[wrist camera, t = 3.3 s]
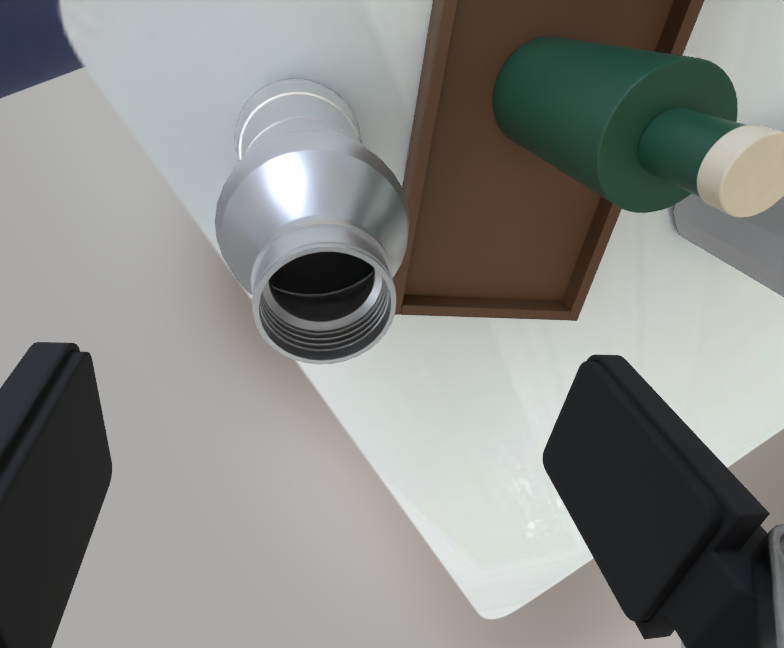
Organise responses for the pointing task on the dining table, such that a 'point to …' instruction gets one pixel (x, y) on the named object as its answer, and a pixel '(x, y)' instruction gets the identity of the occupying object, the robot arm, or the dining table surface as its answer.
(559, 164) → the green bottle
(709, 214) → the water bottle
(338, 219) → the silver metal bottle
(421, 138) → the tray
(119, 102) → the dining table surface
